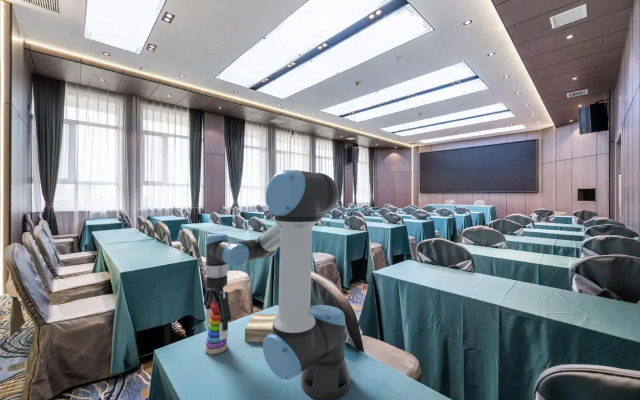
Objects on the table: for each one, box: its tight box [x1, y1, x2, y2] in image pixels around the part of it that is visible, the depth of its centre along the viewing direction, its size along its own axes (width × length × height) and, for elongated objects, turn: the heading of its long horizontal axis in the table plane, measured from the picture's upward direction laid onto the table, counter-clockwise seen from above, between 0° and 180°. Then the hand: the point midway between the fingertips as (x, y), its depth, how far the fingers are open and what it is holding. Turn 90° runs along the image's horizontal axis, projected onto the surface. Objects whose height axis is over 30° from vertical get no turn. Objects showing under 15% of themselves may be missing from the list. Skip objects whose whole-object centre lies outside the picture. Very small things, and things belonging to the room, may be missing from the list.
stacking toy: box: [204, 301, 228, 355], centre depth 103 cm, size 8×8×19 cm
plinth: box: [244, 313, 279, 343], centre depth 116 cm, size 14×14×5 cm
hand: (216, 331), depth 103 cm, fingers open, 13 cm apart
